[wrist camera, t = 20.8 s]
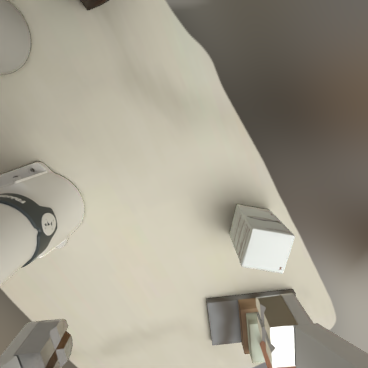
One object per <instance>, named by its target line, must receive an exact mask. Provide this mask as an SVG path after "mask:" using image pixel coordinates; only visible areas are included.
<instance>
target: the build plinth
mask: <svg viewBox="0 0 368 368" xmlns="http://www.w3.org/2000/svg"><path fill="white" fill-rule="evenodd" d="M286 293H293V294H294V295H295V296H296V293H295V292H294V290H293V289H288V290H279V291H270V292H261V293H252V294H243V295H234V296H225V297H216V298H207V306H208V314H209V322H210V330H211V338H212V345H221V344H230V343H240V342H242V345H243V349H244V353H245V354H250V356H251V359H252V363H258V362H265V359H264V356H263V353H262V350H261V347H260V343H261V341H262V338H261V335H260V332H259V328H258V322H257V313H258V309H257V307H256V297H263V296H272V295H280V294H286Z"/></svg>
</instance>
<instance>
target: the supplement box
mask: <svg viewBox="0 0 368 368" xmlns="http://www.w3.org/2000/svg"><path fill="white" fill-rule="evenodd" d="M229 234H230V237H231V240H232V242H233V245H234V247H235V250H236V253H237V255H238V258H239V260H240V263H241V266H242V267H246V268H252V269H258V270H263V271H270V272H276V273H281V274H283V273H284V270H285V266H286V263H287V260H288V257H289V254H290V251H291V248H292V245H293V242H294V238H295V236H294V235H293V234H292V233H291V232H290V231H289V229H288V228H287V227H286V226H285V225H284V224H283V223H282V222H281V221H280V220H279V219H278V218H277V217H276V216H275V215H274V214H273V213H272V212H271V211H270V210H269V209H261V208H255V207H250V206H245V205H240V204H237V205H236V209H235V213H234V217H233V221H232V225H231V229H230V233H229Z"/></svg>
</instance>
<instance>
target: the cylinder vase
mask: <svg viewBox="0 0 368 368" xmlns="http://www.w3.org/2000/svg"><path fill="white" fill-rule="evenodd" d="M30 48H31V37H30V32H29V28H28V26H27V23H26V21H25V19H24V18H23V16H22V14H21V13H20V12H19V11H18V9H17V8H16V7H15V6H14V5H12V4H11V3H10V2H9V1H7V0H0V75H4V74H9V73H12V72H15V71H17V70H18V69H19V68H21V67H22V66H23V65H24V63H25V62H26V60H27V58H28V56H29V53H30Z"/></svg>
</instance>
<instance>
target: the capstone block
mask: <svg viewBox="0 0 368 368" xmlns="http://www.w3.org/2000/svg"><path fill="white" fill-rule="evenodd" d="M260 347H261V350H262V353H263V356H264V359H265V362H266V365H267V367H268V368H272V365H271V363H270V360H269V357H268V355H267V352H266V343H265V342H264V341H261V343H260ZM277 368H296V366H291V367H277Z"/></svg>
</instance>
